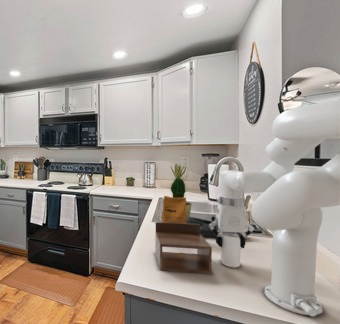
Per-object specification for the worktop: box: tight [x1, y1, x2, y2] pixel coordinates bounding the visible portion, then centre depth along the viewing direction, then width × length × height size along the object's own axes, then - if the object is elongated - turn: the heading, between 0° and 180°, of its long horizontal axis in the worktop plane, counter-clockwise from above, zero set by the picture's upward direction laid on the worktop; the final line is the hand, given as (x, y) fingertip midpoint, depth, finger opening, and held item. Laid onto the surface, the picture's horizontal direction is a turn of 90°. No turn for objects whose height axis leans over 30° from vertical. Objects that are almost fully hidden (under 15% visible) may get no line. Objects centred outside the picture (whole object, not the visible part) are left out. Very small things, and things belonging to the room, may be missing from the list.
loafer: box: [187, 215, 240, 238], centre depth 117 cm, size 10×29×10 cm, turn 81°
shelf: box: [154, 221, 213, 275], centre depth 89 cm, size 14×18×14 cm
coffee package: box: [161, 195, 187, 223], centre depth 113 cm, size 10×12×22 cm
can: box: [220, 232, 241, 269], centre depth 88 cm, size 6×6×12 cm
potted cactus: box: [170, 177, 193, 223], centre depth 131 cm, size 15×15×30 cm
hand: (230, 245), depth 88 cm, fingers open, 7 cm apart
